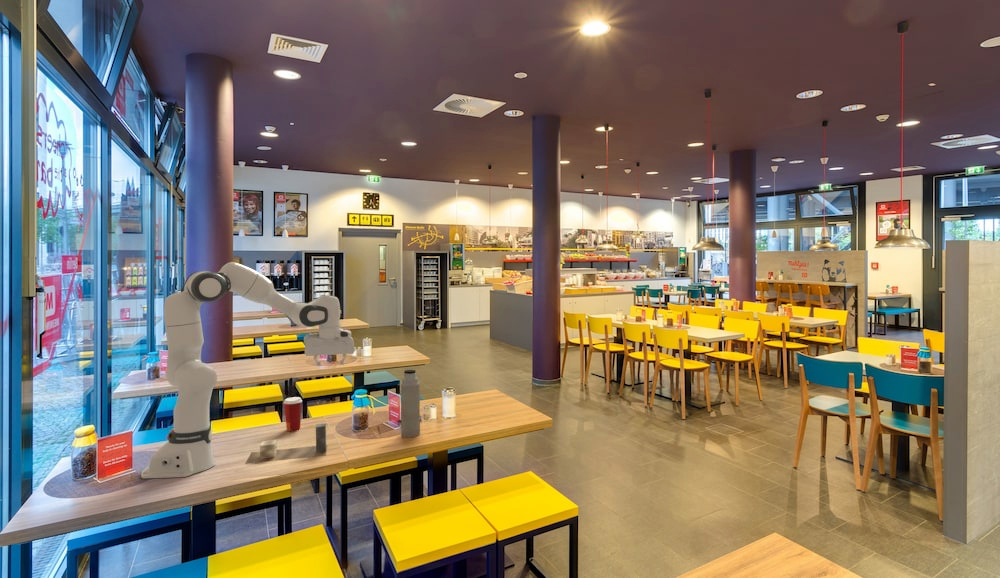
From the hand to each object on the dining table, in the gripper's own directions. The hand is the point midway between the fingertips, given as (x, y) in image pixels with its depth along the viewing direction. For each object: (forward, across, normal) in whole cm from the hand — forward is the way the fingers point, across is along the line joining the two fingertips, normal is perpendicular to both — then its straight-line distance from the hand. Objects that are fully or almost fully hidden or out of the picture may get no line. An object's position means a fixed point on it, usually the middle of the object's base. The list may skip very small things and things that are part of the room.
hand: (330, 365), depth 213 cm
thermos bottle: (+31, +33, -6) cm, 46 cm away
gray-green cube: (+30, -22, -18) cm, 42 cm away
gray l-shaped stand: (+31, -15, -18) cm, 39 cm away
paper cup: (+31, -17, +16) cm, 39 cm away
